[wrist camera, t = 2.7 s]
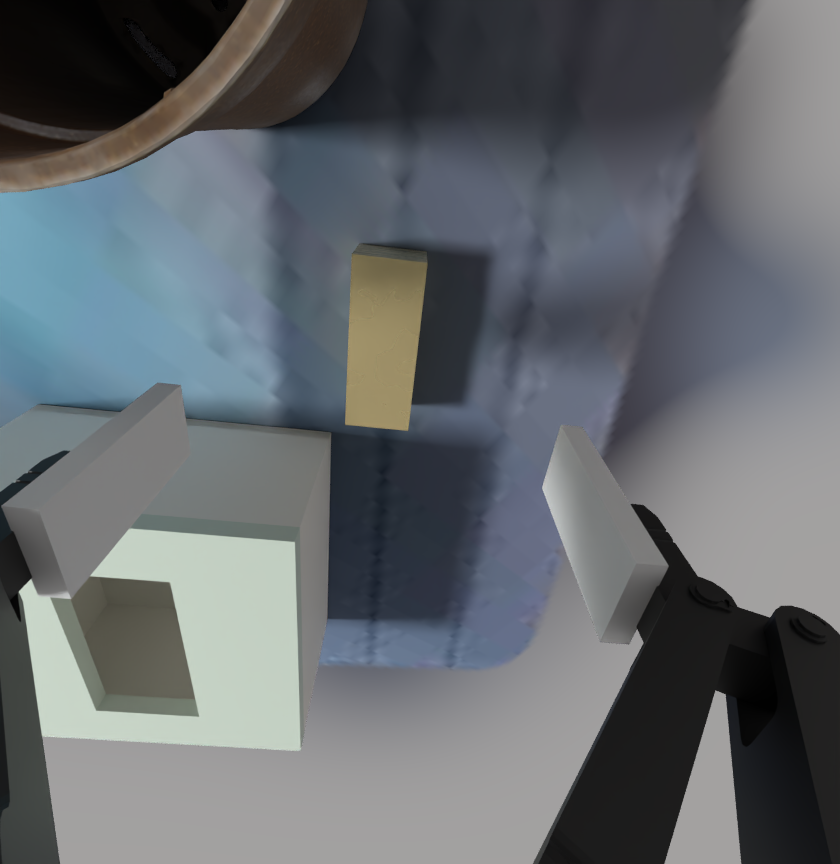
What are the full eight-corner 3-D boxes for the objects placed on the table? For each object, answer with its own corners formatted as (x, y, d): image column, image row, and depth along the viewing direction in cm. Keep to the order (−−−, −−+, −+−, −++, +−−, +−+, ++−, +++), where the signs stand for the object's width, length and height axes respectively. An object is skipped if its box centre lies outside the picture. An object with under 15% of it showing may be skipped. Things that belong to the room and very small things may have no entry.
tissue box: (103, 603, 38) (8, 734, 29) (38, 404, 29) (-128, 507, 20) (327, 619, 39) (300, 750, 30) (331, 432, 30) (294, 541, 21)
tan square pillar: (352, 397, 29) (345, 424, 26) (360, 242, 24) (351, 253, 21) (409, 402, 29) (408, 430, 26) (426, 251, 25) (427, 262, 22)
